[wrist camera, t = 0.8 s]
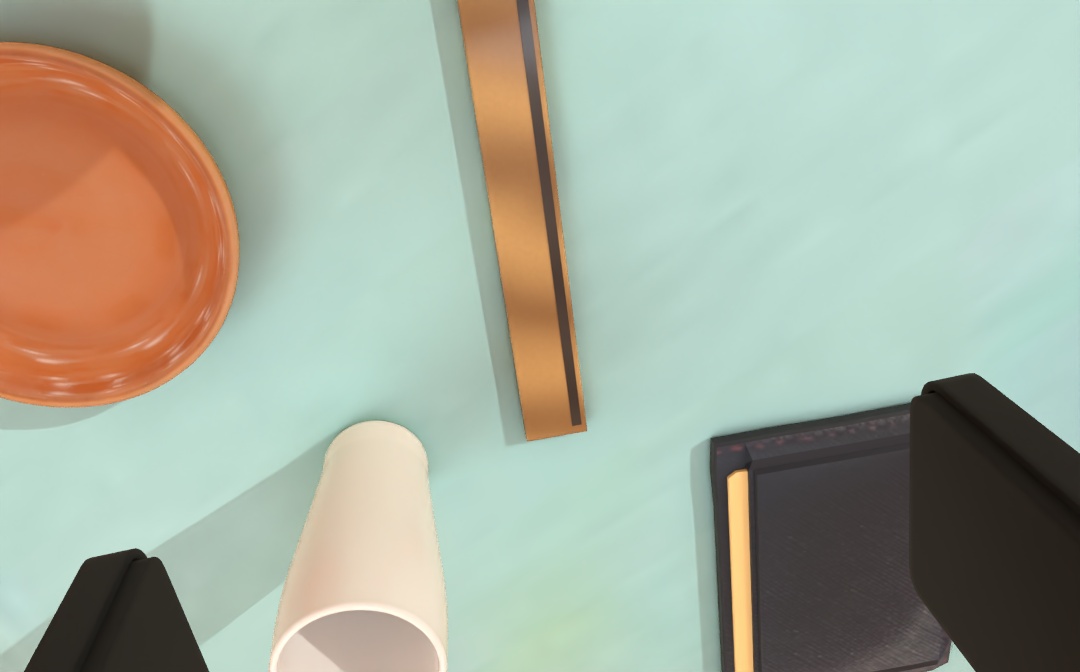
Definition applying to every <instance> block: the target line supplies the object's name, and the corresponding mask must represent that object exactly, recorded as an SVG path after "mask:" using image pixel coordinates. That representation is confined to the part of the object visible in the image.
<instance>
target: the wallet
mask: <svg viewBox="0 0 1080 672" xmlns="http://www.w3.org/2000/svg"><path fill="white" fill-rule="evenodd" d="M910 404H911V403H909V404H904V405H898V406H893V407H888V408H882V409H877V410H871V411H866V412H861V413H855V414H850V415H845V416H839V417H833V418H827V419H821V420H815V421H808V422H802V423H796V424H790V425H783V426H777V427H771V428H765V429H760V430H755V431H750V432H744V433H739V434H733V435H728V436H722V437H716V438H711V445H710V472H711V483H712V493H713V503H714V521H715V542H716V562H717V582H718V603H719V623H720V644H721V665H722V672H926V671H931V670H934V669H936V668H938V667H939V666H941V665H943V664H945V663H947V662H948V660H949V653H950V646H951V639H950V637H949V636H948V635H947V633H946V632H945V631H944V629H943V628H942V627H941V625H940V624H939V623H938V621H937V620H936V619H935V617H934V616H933V615H932V614H931V612H930V611H929V610H928V608H927V607H926V606H925V604H924V603H923V602H922V600H921V599H920V597H919V596H918V594H917V593H916V590H915V588H914V586H913V583H912V580H911V576H910V570H909V492H910Z"/></svg>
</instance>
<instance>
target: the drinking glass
mask: <svg viewBox="0 0 1080 672" xmlns="http://www.w3.org/2000/svg"><path fill="white" fill-rule="evenodd" d="M447 648H448V613H447V598H446V588H445V580H444V573H443V567H442V561H441V555H440V549H439V543H438V537H437V531H436V524H435V518H434V512H433V506H432V499H431V493H430V486H429V467H428V459H427V455H426V452H425V449H424V447H423V445H422V444H421V442H420V441H419V439H418V438H417V437H416V436H415V435H414V434H413V433H412V432H410V431H409V430H407V429H406V428H404V427H402V426H400V425H398V424H395V423H392V422H388V421H380V420H373V421H365V422H361V423H358V424H355V425H353V426H350V427H349V428H347V429H345V430H344V431H342V432H341V433H340V434H339V435H338V436H337V437H336V438H335V439H334V440H333V441H332V443H331V444H330V446H329V448H328V450H327V452H326V455H325V458H324V463H323V468H322V474H321V477H320V480H319V483H318V486H317V489H316V492H315V495H314V498H313V501H312V504H311V507H310V510H309V513H308V516H307V519H306V521H305V524H304V527H303V530H302V533H301V536H300V539H299V541H298V544H297V547H296V550H295V553H294V556H293V559H292V562H291V565H290V568H289V571H288V574H287V577H286V580H285V583H284V587H283V590H282V594H281V598H280V602H279V607H278V612H277V617H276V622H275V627H274V633H273V640H272V647H271V655H270V661H269V672H447Z"/></svg>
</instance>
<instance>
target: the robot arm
mask: <svg viewBox="0 0 1080 672" xmlns="http://www.w3.org/2000/svg"><path fill="white" fill-rule="evenodd" d="M909 570H910V576H911V580H912V583H913V586H914V588H915V590H916V593H917V594H918V596H919V597H920V599H921V600H922V602H923V603H924V604H925V606H926V607H927V608H928V610H929V611H930V612H931V614H932V615H933V616H934V617H935V619H936V620H937V621H938V623H939V624H940V625H941V627H942V628H943V629H944V631H945V632H946V633H947V635H948V636H949V637H950V639H951V640H952V641H953V642H954V644H955V645H956V646H957V648H958V649H959V650H960V652H961V653H962V654H963V656H964V657H965V658H966V660H967V661H968V662H969V664H970V665H971V666H972V668H973V669H974V670H975V671H976V672H1080V453H1078V452H1077V451H1076V450H1074V449H1073V448H1072V447H1071V446H1069V445H1068V444H1067V443H1065V442H1064V441H1063V440H1062V439H1060V438H1059V437H1058V436H1056V435H1055V434H1054V433H1053V432H1051V431H1050V430H1049V429H1047V428H1046V427H1045V426H1044V425H1042V424H1041V423H1040V422H1038V421H1037V420H1036V419H1035V418H1033V417H1032V416H1031V415H1029V414H1028V413H1027V412H1026V411H1024V410H1023V409H1022V408H1020V407H1019V406H1018V405H1017V404H1015V403H1014V402H1013V401H1011V400H1010V399H1009V398H1008V397H1006V396H1005V395H1004V394H1002V393H1001V392H1000V391H999V390H997V389H996V388H995V387H994V386H992V385H991V384H990V383H988V382H987V381H986V380H985V379H983V378H982V377H981V376H979V375H977V374H975V373H969V374H964V375H959V376H955V377H950V378H945V379H940V380H935V381H931V382H928V383H926V384H925V385H924V387H923V389H922V393H921V396H916V397H914V398H913V399H912V401H911V404H910V492H909ZM24 672H209V670H208V668H207V665H206V663H205V661H204V658H203V656H202V654H201V651H200V649H199V647H198V644H197V642H196V640H195V637H194V635H193V633H192V630H191V628H190V626H189V623H188V621H187V618H186V616H185V614H184V611H183V609H182V607H181V604H180V602H179V600H178V597H177V595H176V593H175V590H174V588H173V586H172V583H171V581H170V579H169V576H168V574H167V571H166V569H165V567H164V565H163V563H162V561H161V560H160V559H159V558H157V557H151V558H147V557H146V555H145V554H144V553H143V552H142V551H141V550H139V549H136V548H135V549H130V550H126V551H121V552H116V553H111V554H107V555H102V556H97V557H92V558H89V559H87V560H86V561H85V562H84V563H83V564H82V566H81V567H80V569H79V571H78V573H77V575H76V577H75V578H74V580H73V582H72V584H71V586H70V588H69V590H68V591H67V593H66V595H65V597H64V599H63V601H62V602H61V604H60V606H59V608H58V610H57V612H56V614H55V615H54V617H53V619H52V621H51V623H50V625H49V626H48V628H47V630H46V632H45V634H44V636H43V638H42V639H41V641H40V643H39V645H38V647H37V649H36V650H35V652H34V654H33V656H32V658H31V660H30V662H29V663H28V665H27V667H26V669H25V671H24Z"/></svg>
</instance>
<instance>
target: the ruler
mask: <svg viewBox="0 0 1080 672" xmlns="http://www.w3.org/2000/svg"><path fill="white" fill-rule="evenodd" d="M457 3H458V9H459V16H460V22H461V28H462V35H463V41H464V47H465V54H466V60H467V66H468V73H469V79H470V85H471V92H472V98H473V104H474V111H475V117H476V123H477V130H478V136H479V142H480V149H481V155H482V161H483V168H484V174H485V180H486V187H487V193H488V199H489V206H490V212H491V218H492V225H493V231H494V237H495V244H496V250H497V256H498V263H499V269H500V275H501V282H502V288H503V294H504V301H505V307H506V313H507V320H508V326H509V332H510V339H511V345H512V351H513V358H514V364H515V370H516V377H517V383H518V389H519V396H520V402H521V408H522V415H523V421H524V427H525V434H526V439H527V441H532V440H537V439H543V438H549V437H555V436H560V435H566V434H572V433H578V432H584V431H587V425H586V417H585V409H584V401H583V393H582V385H581V377H580V368H579V360H578V352H577V344H576V336H575V328H574V320H573V312H572V304H571V296H570V287H569V279H568V271H567V263H566V255H565V247H564V239H563V231H562V223H561V214H560V206H559V198H558V190H557V182H556V174H555V166H554V158H553V150H552V142H551V133H550V125H549V117H548V109H547V101H546V93H545V85H544V77H543V69H542V61H541V52H540V44H539V36H538V28H537V20H536V12H535V4H534V0H457Z"/></svg>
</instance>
